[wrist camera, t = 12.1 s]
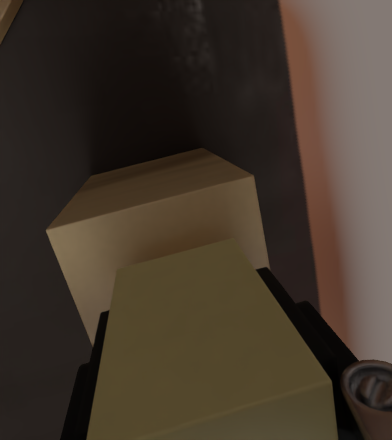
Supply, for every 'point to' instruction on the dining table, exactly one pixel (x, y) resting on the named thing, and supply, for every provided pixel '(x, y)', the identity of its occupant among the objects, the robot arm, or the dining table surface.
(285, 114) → the dining table surface
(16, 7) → the slicer
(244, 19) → the dining table surface
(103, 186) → the stand
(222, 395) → the butter
